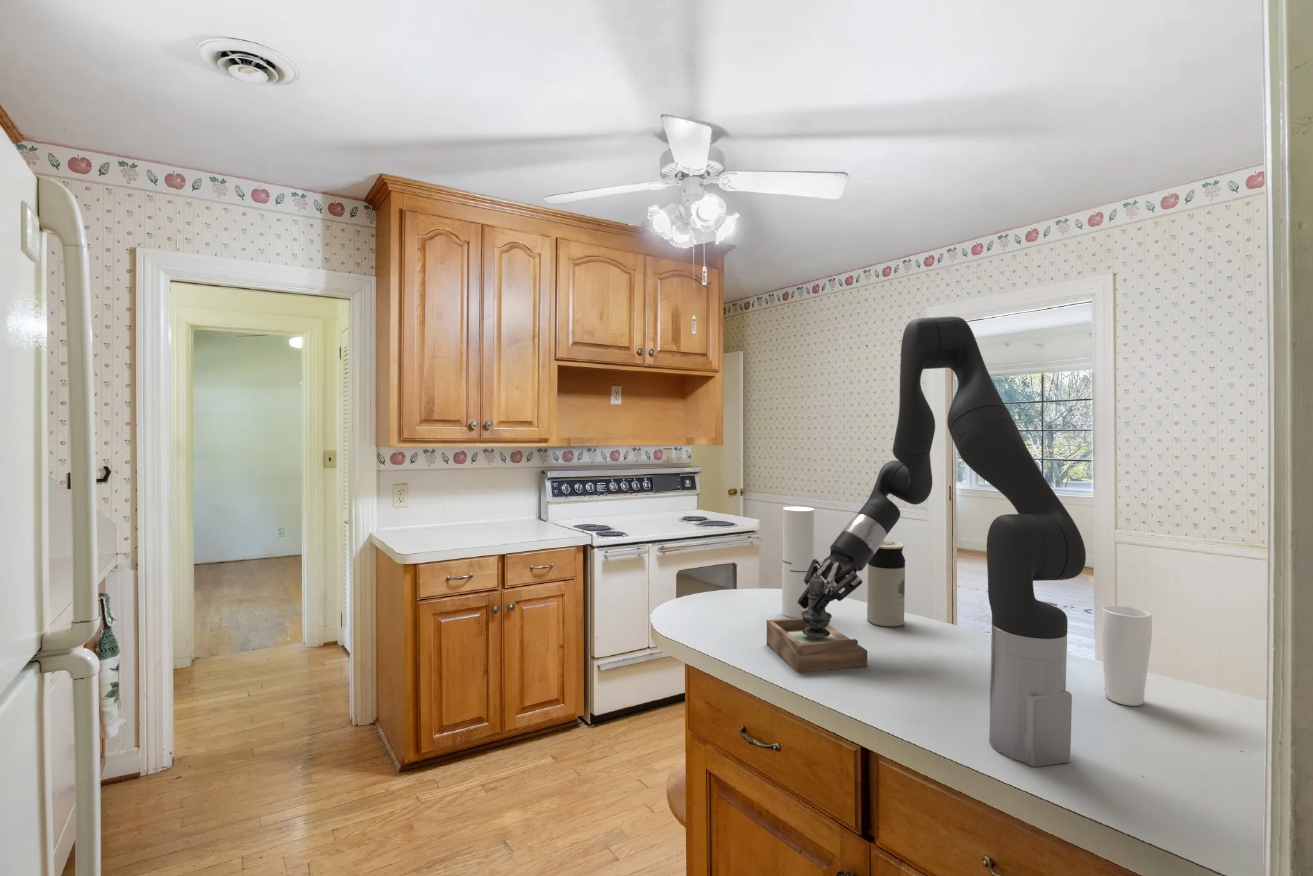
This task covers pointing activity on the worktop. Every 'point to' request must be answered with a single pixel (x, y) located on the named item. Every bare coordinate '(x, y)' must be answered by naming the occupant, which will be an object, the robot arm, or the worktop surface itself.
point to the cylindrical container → (796, 556)
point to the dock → (813, 647)
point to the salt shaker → (812, 620)
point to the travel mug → (886, 585)
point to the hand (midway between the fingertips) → (807, 608)
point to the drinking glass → (1125, 652)
